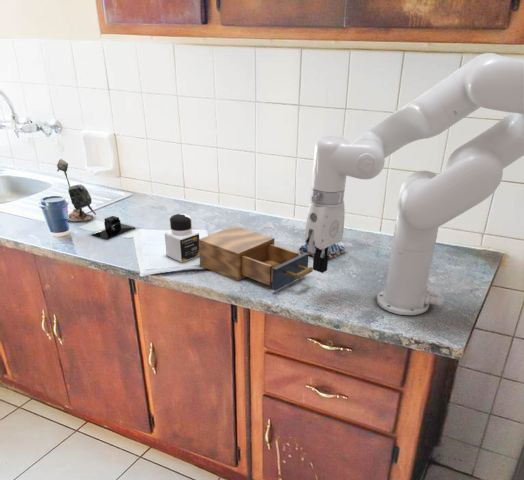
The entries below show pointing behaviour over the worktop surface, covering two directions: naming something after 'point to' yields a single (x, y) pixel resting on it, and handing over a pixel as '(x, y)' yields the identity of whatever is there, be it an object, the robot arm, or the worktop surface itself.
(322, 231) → the robot arm
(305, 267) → the drawer
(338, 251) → the woven mat
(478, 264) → the worktop surface
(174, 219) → the medicine bottle
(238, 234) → the cabinet
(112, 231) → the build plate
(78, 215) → the bird figurine
